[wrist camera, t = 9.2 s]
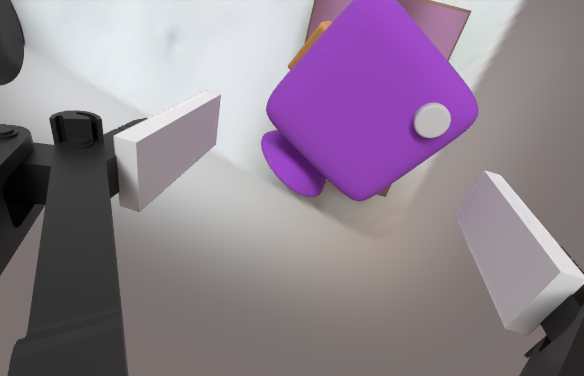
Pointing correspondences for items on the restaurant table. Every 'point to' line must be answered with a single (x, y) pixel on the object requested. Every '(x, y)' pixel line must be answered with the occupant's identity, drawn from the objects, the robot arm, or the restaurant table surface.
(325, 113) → the toy camera
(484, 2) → the restaurant table surface
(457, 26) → the walnut step
